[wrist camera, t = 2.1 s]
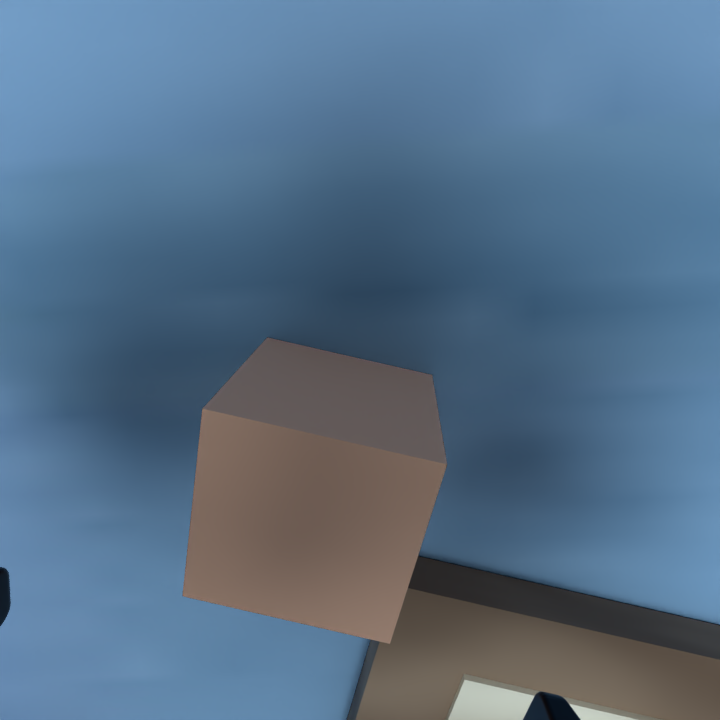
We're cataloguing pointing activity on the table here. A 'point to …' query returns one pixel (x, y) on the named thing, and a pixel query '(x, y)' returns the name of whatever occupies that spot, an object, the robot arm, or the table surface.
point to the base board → (533, 654)
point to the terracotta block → (314, 489)
